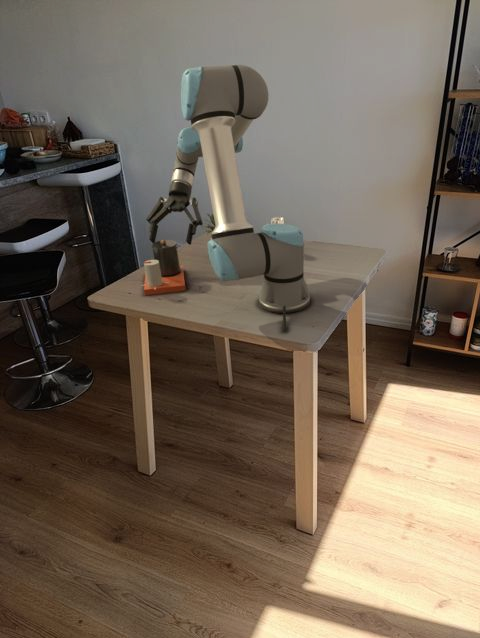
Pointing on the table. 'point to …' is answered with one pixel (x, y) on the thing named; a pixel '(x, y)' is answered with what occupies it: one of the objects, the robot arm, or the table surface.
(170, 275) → the burner
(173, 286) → the hot plate
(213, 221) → the house plant
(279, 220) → the wineglass
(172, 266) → the enamel pot
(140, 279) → the table surface
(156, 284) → the hob knob
